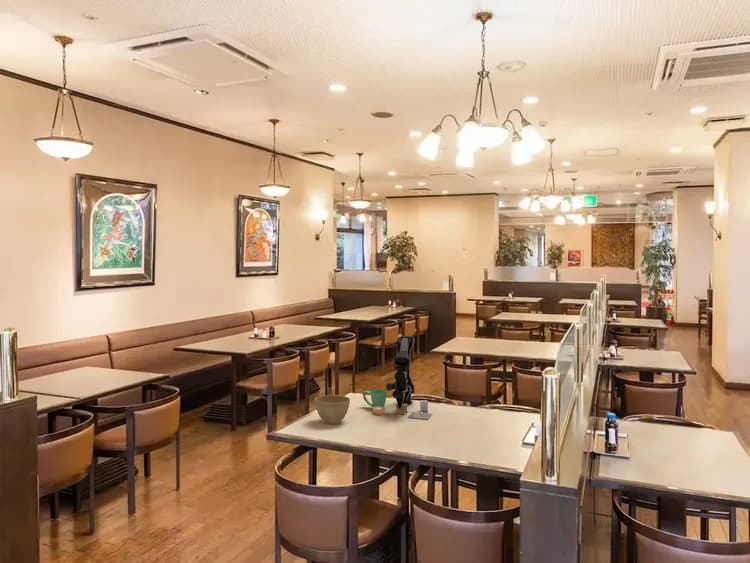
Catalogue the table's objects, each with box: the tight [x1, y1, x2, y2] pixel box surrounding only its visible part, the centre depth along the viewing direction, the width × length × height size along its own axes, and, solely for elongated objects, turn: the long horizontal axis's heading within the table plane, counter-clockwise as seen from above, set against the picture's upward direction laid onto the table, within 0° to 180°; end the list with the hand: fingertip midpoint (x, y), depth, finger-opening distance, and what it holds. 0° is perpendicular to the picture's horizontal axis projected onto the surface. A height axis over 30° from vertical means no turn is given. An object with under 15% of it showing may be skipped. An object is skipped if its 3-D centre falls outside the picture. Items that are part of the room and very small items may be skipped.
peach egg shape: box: [372, 406, 385, 416], centre depth 312 cm, size 6×6×4 cm
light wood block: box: [419, 399, 429, 413], centre depth 317 cm, size 4×4×6 cm
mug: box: [362, 389, 388, 408], centre depth 323 cm, size 15×10×10 cm
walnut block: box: [395, 403, 408, 416], centre depth 313 cm, size 5×5×5 cm
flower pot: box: [314, 394, 351, 425], centre depth 295 cm, size 18×18×12 cm
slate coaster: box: [407, 411, 433, 421], centre depth 307 cm, size 11×11×1 cm
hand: (401, 406), depth 313 cm, fingers open, 9 cm apart
